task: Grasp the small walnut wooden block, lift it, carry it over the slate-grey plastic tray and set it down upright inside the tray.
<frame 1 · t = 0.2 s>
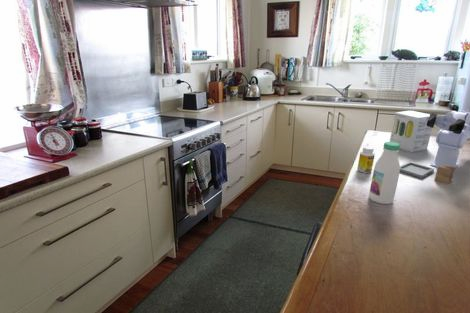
hand: (438, 125, 120), 21 cm above the kitchen island, tool horizontal, fingers open, 7 cm apart
walnut block: (442, 181, 124), on the kitchen island
supplement bottle: (364, 171, 131), on the kitchen island
milk bottle: (380, 199, 108), on the kitchen island
supplement box: (407, 147, 164), on the kitchen island
grey tray: (414, 171, 132), on the kitchen island
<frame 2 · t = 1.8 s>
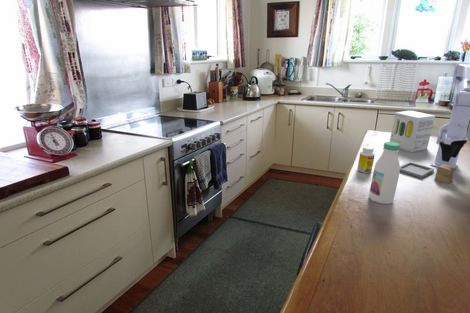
hand: (448, 159, 120), 9 cm above the kitchen island, tool pointing down, fingers open, 7 cm apart
nothing on the kitchen island moved.
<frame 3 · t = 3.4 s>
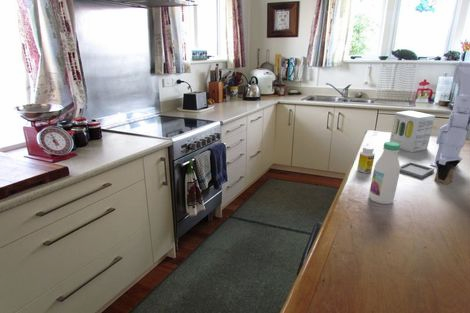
hand: (443, 177, 123), 1 cm above the kitchen island, tool pointing down, fingers closed on walnut block, 4 cm apart
walnut block: (442, 181, 124), on the kitchen island, touching gripper
everything else where it was.
when the fingers open (3 cm above the kitchen island, at t = 7.9 s): walnut block drops 1 cm, resting on grey tray.
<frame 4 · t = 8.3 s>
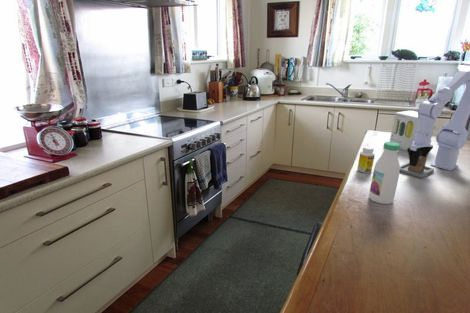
hand: (416, 163, 131), 4 cm above the kitchen island, tool pointing down, fingers open, 7 cm apart
walnut block: (415, 170, 132), point 1 cm above the kitchen island, touching grey tray
everything else where it was.
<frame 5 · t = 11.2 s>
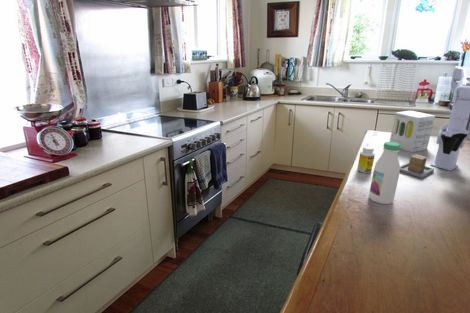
hand: (449, 152, 124), 10 cm above the kitchen island, tool pointing down, fingers open, 7 cm apart
nothing on the kitchen island moved.
at the end: walnut block 0.3 cm off-centre on the grey tray, point 0.6 cm above the grey tray's base; walnut block tilted 0°; the gripper is holding nothing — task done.
